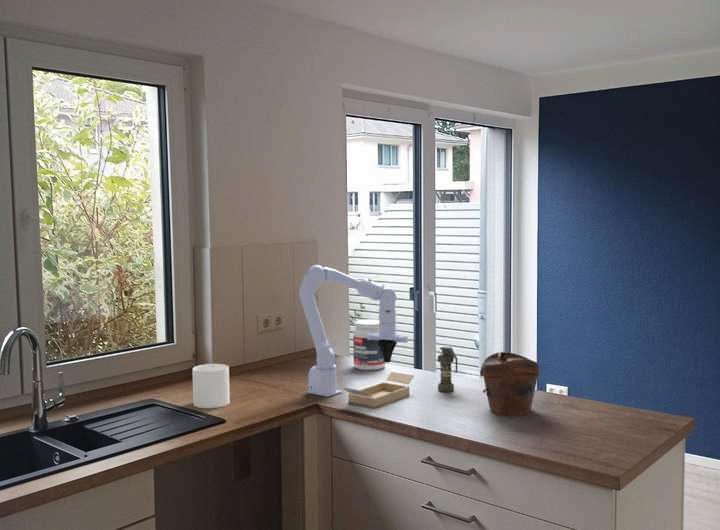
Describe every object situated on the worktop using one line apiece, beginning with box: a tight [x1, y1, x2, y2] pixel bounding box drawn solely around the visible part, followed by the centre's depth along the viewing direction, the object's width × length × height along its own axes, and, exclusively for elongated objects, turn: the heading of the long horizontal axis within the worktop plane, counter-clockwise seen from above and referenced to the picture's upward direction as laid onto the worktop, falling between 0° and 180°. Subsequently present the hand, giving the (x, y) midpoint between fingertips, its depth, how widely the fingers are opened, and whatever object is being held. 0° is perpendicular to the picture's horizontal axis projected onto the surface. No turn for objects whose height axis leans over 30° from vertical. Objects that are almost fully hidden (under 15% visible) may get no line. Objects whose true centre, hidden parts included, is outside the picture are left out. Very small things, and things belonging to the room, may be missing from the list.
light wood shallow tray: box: [348, 381, 410, 409], centre depth 240 cm, size 11×19×3 cm, turn 142°
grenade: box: [437, 346, 458, 393], centre depth 249 cm, size 6×6×15 cm
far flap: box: [385, 371, 415, 385], centre depth 249 cm, size 9×4×1 cm
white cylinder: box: [191, 363, 231, 409], centre depth 237 cm, size 12×12×12 cm
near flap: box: [342, 386, 372, 397], centre depth 231 cm, size 9×4×1 cm
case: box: [479, 351, 542, 417], centre depth 225 cm, size 18×20×18 cm
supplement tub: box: [352, 319, 387, 371], centre depth 287 cm, size 13×13×18 cm
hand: (387, 361), depth 249 cm, fingers closed
